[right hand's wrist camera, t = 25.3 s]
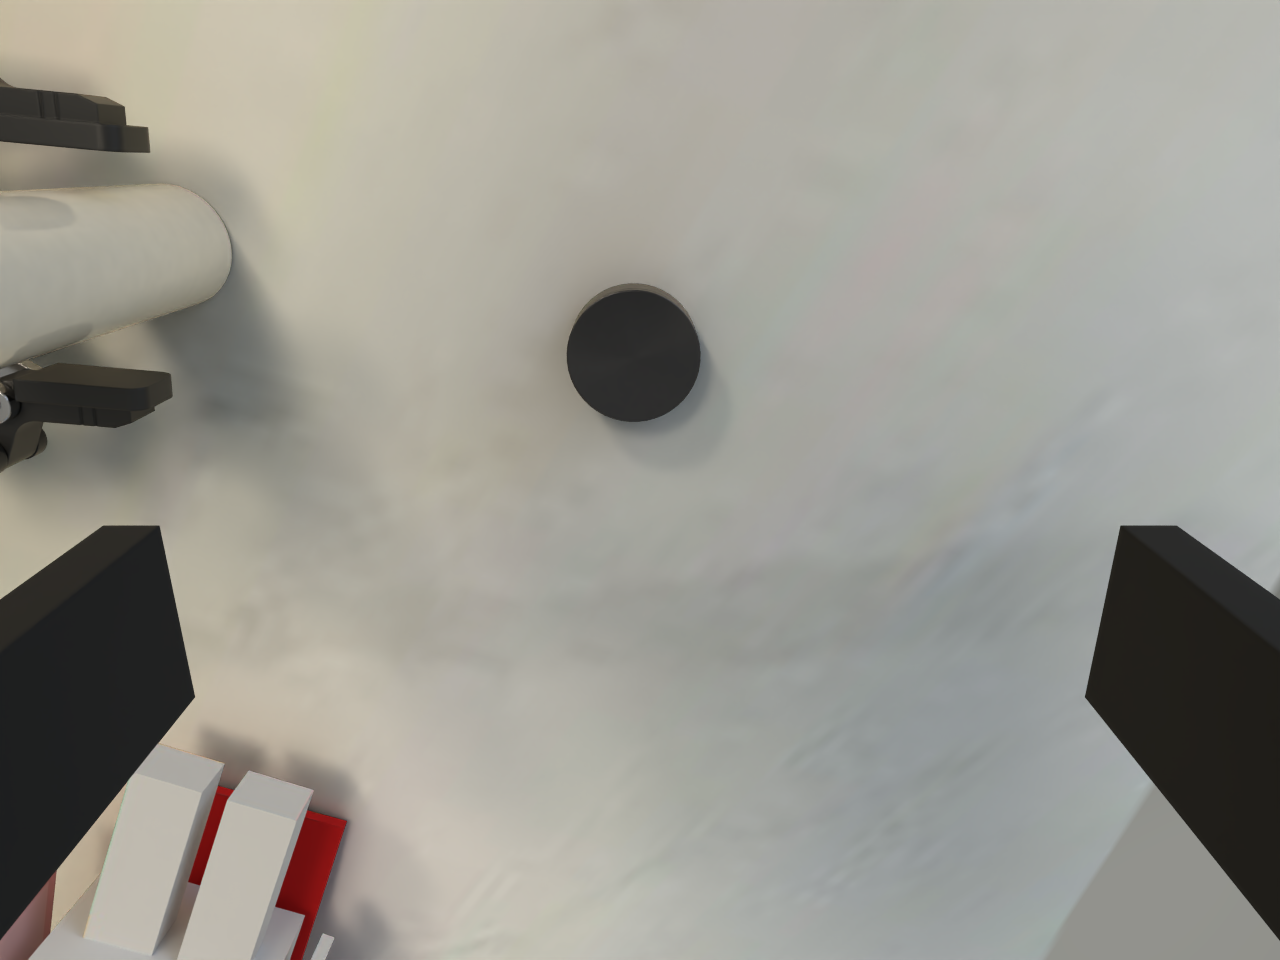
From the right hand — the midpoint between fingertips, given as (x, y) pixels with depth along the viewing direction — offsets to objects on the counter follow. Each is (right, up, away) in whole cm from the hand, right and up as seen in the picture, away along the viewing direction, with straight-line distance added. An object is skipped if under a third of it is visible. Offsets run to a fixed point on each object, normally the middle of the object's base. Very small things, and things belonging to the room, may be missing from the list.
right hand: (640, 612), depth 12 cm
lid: (0, +6, +20) cm, 21 cm away
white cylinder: (-17, +10, +20) cm, 28 cm away
